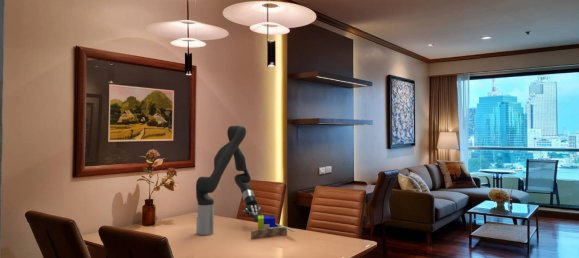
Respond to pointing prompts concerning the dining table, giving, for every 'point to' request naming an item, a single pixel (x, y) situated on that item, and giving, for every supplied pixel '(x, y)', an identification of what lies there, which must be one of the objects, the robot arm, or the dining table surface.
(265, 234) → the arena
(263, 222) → the puzzle toy
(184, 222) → the dining table surface
